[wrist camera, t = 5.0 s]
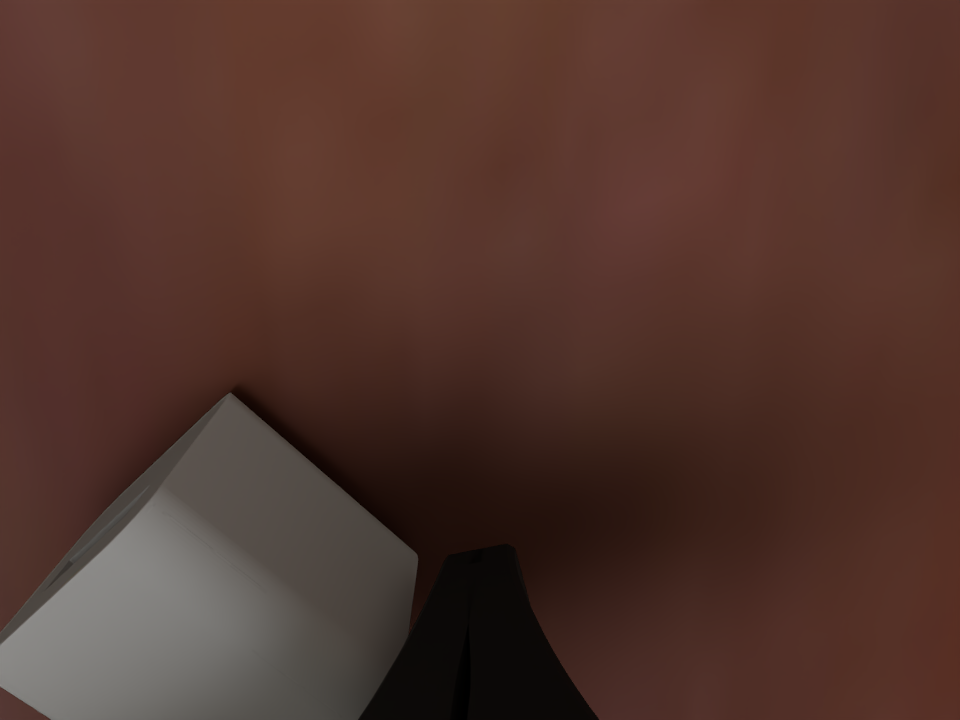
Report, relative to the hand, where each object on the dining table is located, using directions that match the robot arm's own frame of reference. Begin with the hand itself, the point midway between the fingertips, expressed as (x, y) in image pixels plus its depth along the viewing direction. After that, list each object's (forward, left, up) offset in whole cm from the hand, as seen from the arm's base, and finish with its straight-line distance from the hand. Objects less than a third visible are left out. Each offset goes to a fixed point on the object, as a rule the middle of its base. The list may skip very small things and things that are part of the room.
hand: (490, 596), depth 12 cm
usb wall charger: (+3, 0, -2) cm, 4 cm away
